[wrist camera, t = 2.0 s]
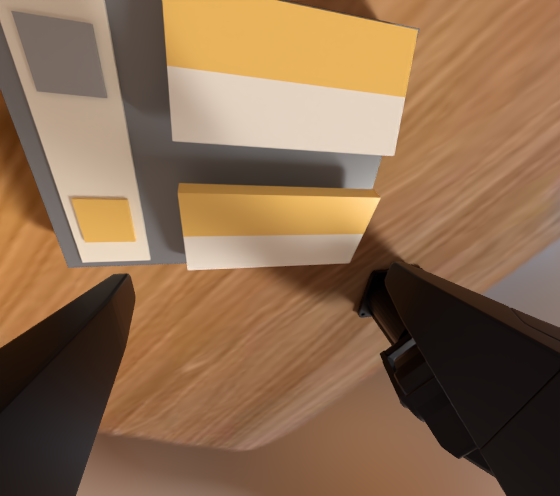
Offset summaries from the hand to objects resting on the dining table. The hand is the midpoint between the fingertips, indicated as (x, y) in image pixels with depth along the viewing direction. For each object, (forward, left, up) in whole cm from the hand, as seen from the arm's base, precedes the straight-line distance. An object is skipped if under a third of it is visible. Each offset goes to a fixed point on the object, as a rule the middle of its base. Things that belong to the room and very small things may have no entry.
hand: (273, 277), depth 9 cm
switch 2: (-2, -2, -9) cm, 9 cm away
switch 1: (+6, -2, -9) cm, 10 cm away
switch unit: (+2, +1, -13) cm, 13 cm away
